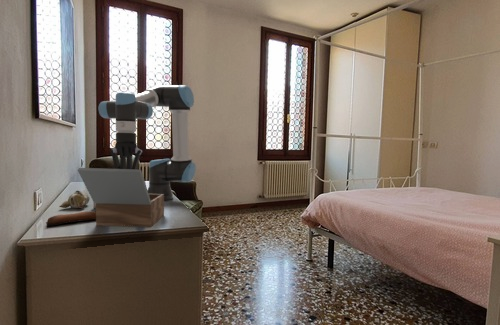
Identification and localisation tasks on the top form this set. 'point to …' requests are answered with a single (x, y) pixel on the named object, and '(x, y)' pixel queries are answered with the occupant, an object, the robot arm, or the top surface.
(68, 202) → the ceramic sculpture
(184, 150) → the robot arm
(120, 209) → the walnut box
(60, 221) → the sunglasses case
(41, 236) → the top surface
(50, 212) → the top surface
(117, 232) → the top surface
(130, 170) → the lid
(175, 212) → the top surface
